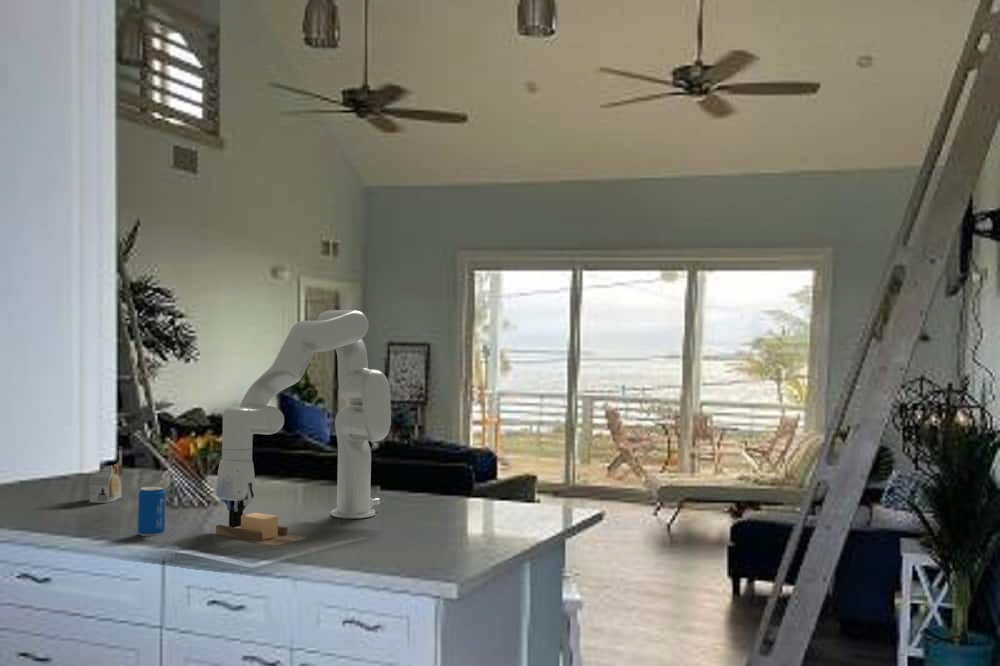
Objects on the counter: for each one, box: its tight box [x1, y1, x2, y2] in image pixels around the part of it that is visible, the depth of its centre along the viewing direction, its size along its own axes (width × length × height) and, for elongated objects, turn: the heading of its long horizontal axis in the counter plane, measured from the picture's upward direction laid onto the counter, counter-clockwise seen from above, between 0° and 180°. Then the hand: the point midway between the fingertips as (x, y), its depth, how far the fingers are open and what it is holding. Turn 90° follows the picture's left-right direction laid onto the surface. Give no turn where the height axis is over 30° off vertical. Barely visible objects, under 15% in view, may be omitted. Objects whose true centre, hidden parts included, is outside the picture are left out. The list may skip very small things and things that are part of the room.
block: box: [240, 512, 279, 539], centre depth 240 cm, size 5×8×5 cm, turn 57°
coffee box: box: [89, 446, 123, 504], centre depth 290 cm, size 9×6×16 cm
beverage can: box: [137, 485, 166, 538], centre depth 243 cm, size 6×6×12 cm
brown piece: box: [214, 524, 308, 547], centre depth 239 cm, size 12×22×3 cm, turn 56°
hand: (235, 526), depth 245 cm, fingers closed
